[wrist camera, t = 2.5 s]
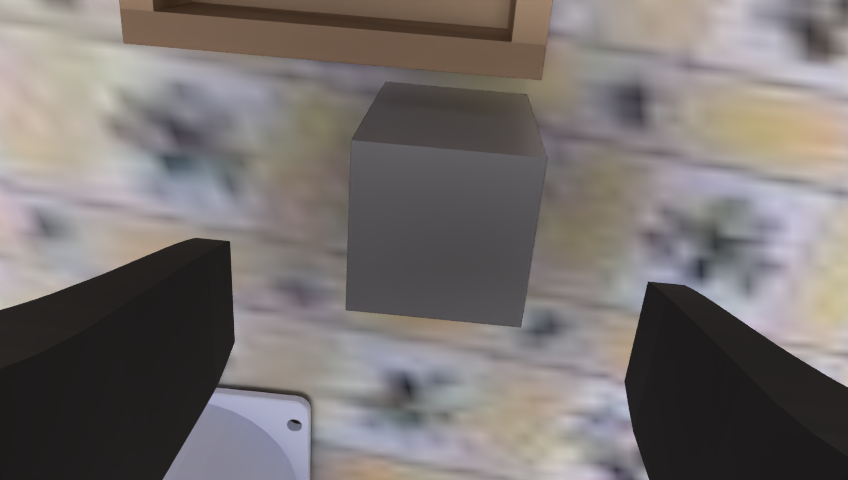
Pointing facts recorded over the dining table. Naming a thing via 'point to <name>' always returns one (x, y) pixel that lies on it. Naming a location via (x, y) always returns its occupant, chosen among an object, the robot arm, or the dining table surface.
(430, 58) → the box
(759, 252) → the dining table surface
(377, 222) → the grey rectangular block
